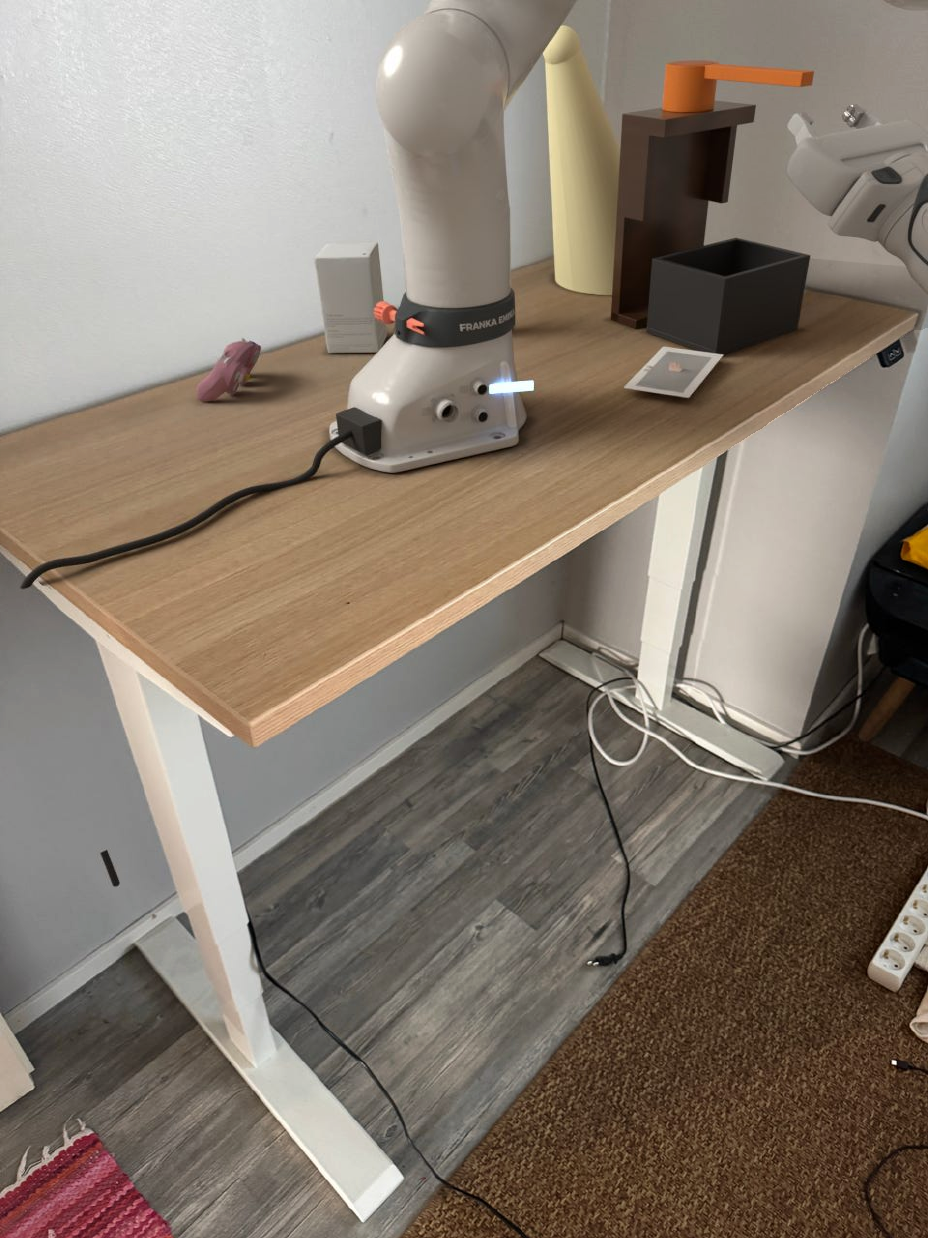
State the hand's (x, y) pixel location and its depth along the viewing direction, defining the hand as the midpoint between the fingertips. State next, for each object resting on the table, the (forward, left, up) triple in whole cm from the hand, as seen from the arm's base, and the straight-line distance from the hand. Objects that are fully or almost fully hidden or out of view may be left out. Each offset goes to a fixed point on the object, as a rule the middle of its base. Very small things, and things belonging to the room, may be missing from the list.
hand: (822, 113), depth 102 cm
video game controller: (-61, +35, -27) cm, 75 cm away
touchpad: (-17, +2, -27) cm, 32 cm away
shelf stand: (0, +20, -27) cm, 34 cm away
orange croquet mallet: (0, +13, -1) cm, 13 cm away
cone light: (+3, +39, -27) cm, 48 cm away
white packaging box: (-41, +39, -27) cm, 63 cm away
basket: (0, +10, -27) cm, 29 cm away
